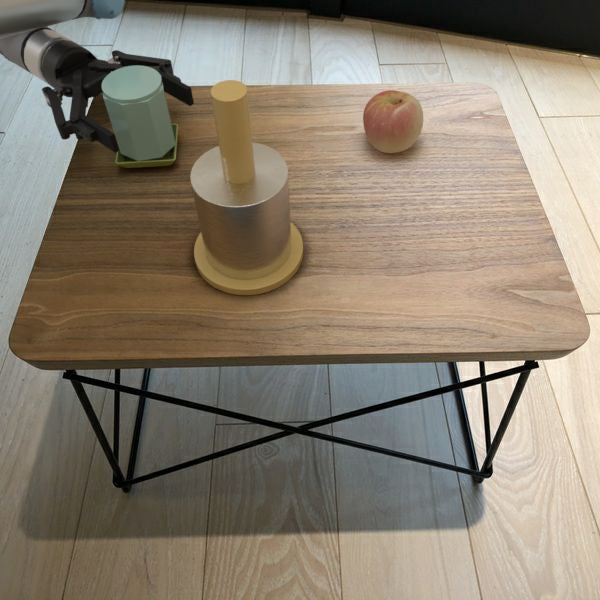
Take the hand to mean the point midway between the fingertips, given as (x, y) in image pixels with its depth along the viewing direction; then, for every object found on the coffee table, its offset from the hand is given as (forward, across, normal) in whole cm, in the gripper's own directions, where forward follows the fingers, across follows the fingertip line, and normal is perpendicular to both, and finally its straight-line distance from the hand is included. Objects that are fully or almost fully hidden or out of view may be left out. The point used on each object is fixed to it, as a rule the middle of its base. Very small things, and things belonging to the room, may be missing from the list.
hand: (154, 119), depth 84 cm
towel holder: (+22, +5, -8) cm, 24 cm away
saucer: (-3, 0, -8) cm, 9 cm away
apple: (+23, -25, -8) cm, 35 cm away
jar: (-3, 0, -6) cm, 7 cm away
